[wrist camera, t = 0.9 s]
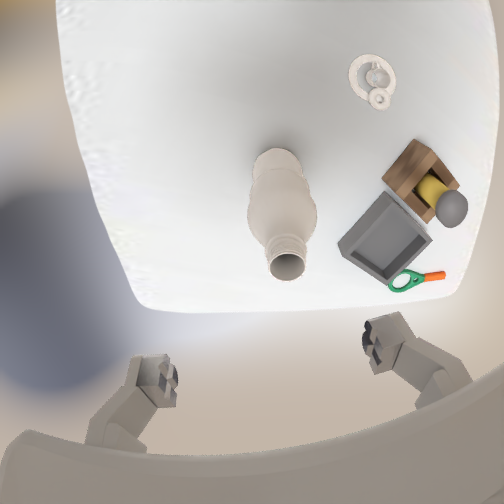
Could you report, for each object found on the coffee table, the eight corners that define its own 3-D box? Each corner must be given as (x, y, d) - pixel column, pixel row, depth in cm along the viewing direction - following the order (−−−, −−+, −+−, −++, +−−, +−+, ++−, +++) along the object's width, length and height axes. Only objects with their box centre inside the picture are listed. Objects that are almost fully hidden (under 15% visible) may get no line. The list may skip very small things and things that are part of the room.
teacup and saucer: (387, 113, 35) (398, 117, 32) (341, 97, 35) (349, 100, 32) (399, 65, 30) (411, 65, 27) (352, 47, 30) (361, 44, 27)
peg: (413, 154, 38) (457, 186, 28) (430, 173, 40) (472, 208, 29) (395, 176, 41) (434, 214, 30) (413, 193, 43) (450, 234, 32)
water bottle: (249, 148, 40) (231, 235, 20) (295, 141, 39) (331, 221, 19) (258, 190, 44) (251, 304, 24) (302, 183, 43) (333, 294, 23)
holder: (413, 139, 37) (431, 149, 32) (442, 172, 39) (460, 185, 35) (381, 178, 42) (395, 192, 37) (412, 207, 44) (426, 224, 39)
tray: (384, 191, 43) (392, 201, 40) (423, 229, 47) (432, 240, 43) (337, 243, 50) (342, 256, 46) (380, 272, 53) (386, 285, 50)
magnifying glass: (385, 290, 57) (387, 295, 55) (389, 269, 53) (392, 275, 52) (439, 282, 55) (441, 286, 53) (445, 262, 51) (448, 266, 50)
